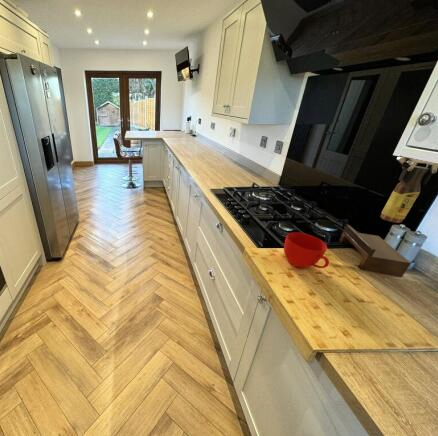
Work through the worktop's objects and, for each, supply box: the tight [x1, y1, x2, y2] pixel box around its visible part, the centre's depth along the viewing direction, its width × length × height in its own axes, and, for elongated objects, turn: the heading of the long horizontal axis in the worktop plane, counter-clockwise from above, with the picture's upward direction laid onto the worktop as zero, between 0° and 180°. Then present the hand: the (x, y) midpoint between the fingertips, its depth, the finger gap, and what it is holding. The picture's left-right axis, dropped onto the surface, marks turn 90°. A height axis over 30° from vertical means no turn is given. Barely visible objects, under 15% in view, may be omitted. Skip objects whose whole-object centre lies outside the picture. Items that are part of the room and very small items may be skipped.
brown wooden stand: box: [338, 224, 412, 278], centre depth 94 cm, size 13×20×10 cm, turn 164°
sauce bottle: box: [380, 165, 428, 224], centre depth 83 cm, size 7×6×20 cm
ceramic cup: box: [283, 232, 330, 269], centre depth 87 cm, size 13×17×10 cm
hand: (411, 181), depth 81 cm, fingers closed on sauce bottle, 4 cm apart
